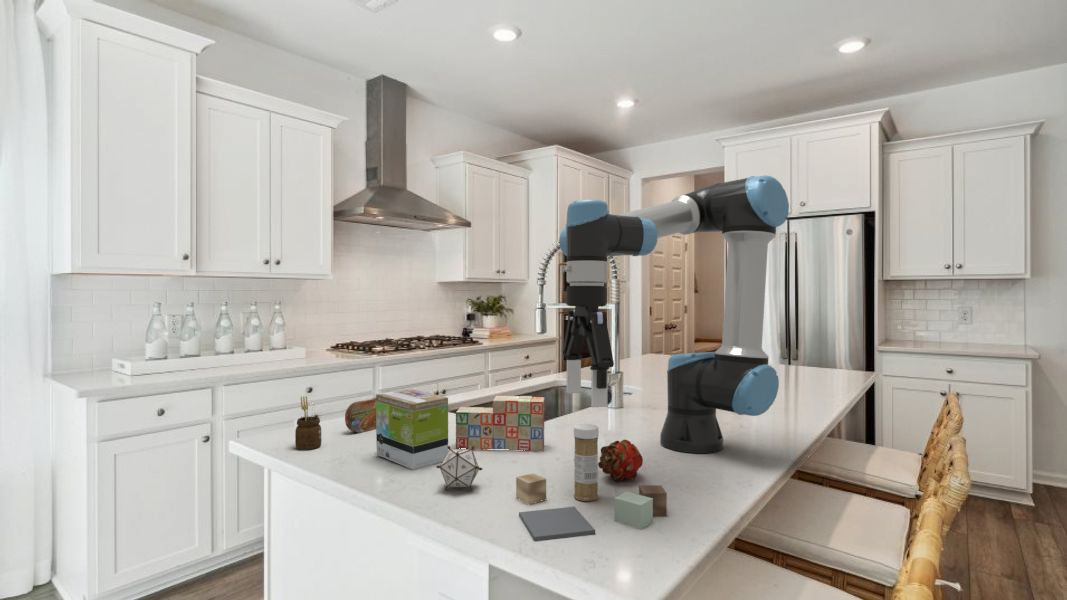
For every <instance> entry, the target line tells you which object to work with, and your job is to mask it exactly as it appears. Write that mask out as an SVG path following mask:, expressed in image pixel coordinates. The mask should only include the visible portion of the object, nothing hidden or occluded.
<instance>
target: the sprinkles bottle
mask: <svg viewBox="0 0 1067 600" xmlns="http://www.w3.org/2000/svg"><path fill="white" fill-rule="evenodd" d="M599 432H600V431H599V426H598V425H596V424H592V423H578V424H575V425H574V426H573V438H574V459H573V460H574V466H573V467H574V476H573V477H574V494H573V496H574V498H575V499H576V500H579V501H581V502H593V501H596V500H597V499H598V498H599V494H598V487H599V485H598V484H599V483H598V479H599V466H598V463H599V454H598V453H599V452H598V448H599V447H598V442H599V441H598V439H599Z"/></svg>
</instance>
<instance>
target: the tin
mask: <svg viewBox="0 0 1067 600" xmlns="http://www.w3.org/2000/svg"><path fill="white" fill-rule="evenodd" d="M344 422H345V425H346V428H347V429H348V430H350V431H351V432H354V433H359V434H362V433H367V432H370V431H372V430H373V431H374V430H376V397H373V398H367V399H364V400H359V401H355V402H353V403H350V405H349V406H348V407H347V409H346V410H345V414H344Z"/></svg>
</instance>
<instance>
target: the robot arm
mask: <svg viewBox="0 0 1067 600" xmlns="http://www.w3.org/2000/svg"><path fill="white" fill-rule="evenodd" d="M789 206H790V205H789V199H788V195H787V192H786V190H785V188H784V187H783V185H782V184H781V182H780V181H779V180H778V179H777V178H775V177H774V176H771V175H766V174H765V175H758V176H754V175H753V176H748V177H745V178H741V179H735V180H730V181H725V182H719V183H714V184H711V185H707V186H705V187H702V188H700V189H696V190H694V191H691V192H687V193H685V194H682V195H678V196H675V197H674V198H673V199H672V200H671V201H670V202H666V203H662V204H657V205H653V206H649V207H645V208H644V207H643V208H640V209H636V210H632V211H627V212H624V213H619V214H610V213H609V212H610V210H609V209H608V204H607V202H606V201H604V200H602V199H601V200H600V199H579V200H577V199H576V200H573V201H571V202H570V203H569V204H568V206H567V211H566V224H565V227H564V228H563V229H562V231H561V232H560V234H559V240H558V241H559V248H560V251H561V252H562V254H563V255H564V256H566V266H564V268H563V270H564V272H565V273H566V282H567V284H569V286H567V287H566V289H565V294H566V296H565V304H566V305H567V306H569V307H574V309H569V310H568V312H567V325H566V329H565V337H564V342H563V347H562V354H563V356H565V360H566V394H581V392H582V359H583V356H582V350H583V346H584V344H585V340H586V343H587V347H588V350H589V355H590V357H591V358H590V359H591V362H592V364H591V366H590V368H589V369H590V370H591V375H590V376H591V379H590V380H591V382H590V383H591V385H590V386H591V387H590V389H591V392H590V395H591V396H590V397H591V398H590V402H591V403H590V404H591V406H590V407H591V408H608V381H609V380H608V377H609V376H608V375H609V374H608V373H609V370H610V368H613V367H614V365H615V362H614V358H613V357H614V356H613V351H612V346H611V340H610V334H609V328H608V319H607V314H608V313H606V311H599V307H605V306H607V304H608V288H607V286H605V284H607V283H608V266H609V265H608V263H609V262H608V257H620V256H632V257H639V256H640V257H641V256H647V255H649V254H651V253H652V252H653V251H654V250H655V248H656V246H657V243H658V239H660V238H664V237H667V236H672V235H676V234H680V235H685V236H687V235H690V234H691V235H692V234H696V233H710V232H711V233H712V232H713V233H715V232H721V236H722V238H723V239H724V240H725V242H727V256H726V257H727V259H726V274H725V275H726V277H725V291H724V293H725V294H724V307H723V322H722V325H723V326H722V327H723V328H722V339H721V343H722V344H721V347H719V348H718V349H717V350H716V351H710V352H709V351H708V352H707V351H706V352H705V351H704V352H689V353H678V354H673V355H671V356H670V357H669V358H668V361H667V363H668V365H667V371H666V373H667V376H666V378H667V379H666V380H667V413H666V417H665V420H664V423H663V426H662V428H661V431H660V434H659V435H660V437H659V439H660V440H659V441H660V445H661V446H663V447H664V448H666V449H669V450H673V451H677V452H682V453H690V454H691V453H692V454H708V453H716V452H719V451H722V450H723V449H724V437H723V434H722V430H721V427H720V424H719V422H718V418H717V410H721V411H725V412H731V413H735V414H737V415H740V416H742V415H743V416H744V415H745V416H752V417H758V416H760V415H763V414H765V413H766V412H767V411H769V409H770V408H771V406H772V405H773V404H774V402H775V400H776V398H777V395H778V392H779V387H780V386H779V385H780V382H779V381H780V379H779V376H778V373H777V371H776V369H775V368H774V367H772V366H771V365H770V364H769V355H768V354H767V353H766V351H764V350H763V336H764V335H763V334H764V333H763V331H764V318H765V317H764V315H765V301H766V300H765V298H766V286H767V285H766V284H767V283H766V280H767V264H768V261H767V260H768V250H769V248H768V245H769V244H770V242H771V241H773V240H774V239H775V238H776V235H777V234H776V232H777V228H778V227H781V226H782V225H784V223H785V222H786V221H787V220H786V219H788V216H789V212H790V211H789V209H790V207H789Z"/></svg>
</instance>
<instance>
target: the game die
mask: <svg viewBox="0 0 1067 600" xmlns="http://www.w3.org/2000/svg"><path fill="white" fill-rule="evenodd" d="M473 449H474V446H473V447H472V448H471V449H456V448H451V446H450V445H448V453H447V455H446V456H445V458H444V460H443V462H440V465H436V466H435V468H436V469H440V472H441V474H442V477H443V480H444V482H445V485H446V486H445V488H444V491H447V490H448V488H469V491H471V492H472V491H473V487H472V485H473V482H474V481H475V479H476V477H477V474H479V471H482V470H483V468H482V467H481V466H479V463H478V462H477V459H476V456H475V454H474V450H473Z"/></svg>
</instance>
